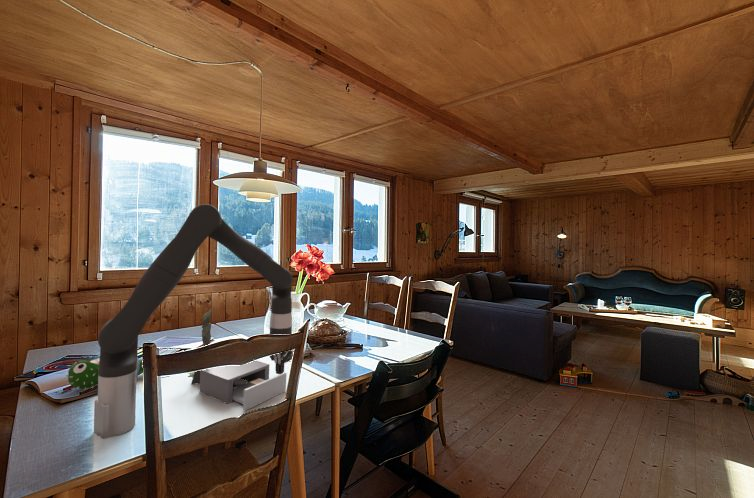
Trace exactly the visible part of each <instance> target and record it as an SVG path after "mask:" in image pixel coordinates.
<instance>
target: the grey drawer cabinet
mask: <svg viewBox="0 0 754 498" xmlns="http://www.w3.org/2000/svg"><path fill="white" fill-rule="evenodd" d="M259 378H260V379H263V380H268V379H270V364H268V363H267V362H262V361H259V360H256V361H253V362H251V363H248V364H245V365H240V366H225V367H217V368H211V369H206V370H201V371H200V384H199V393H201V394H203V395H205V396H207V397H210V398H212V399H215V400H217V401H220V402H222V403H224V402H225V403H224V404H226V403H228V404H231V403H233V400H232V392H233V388H234V387H233V386H234V382H235V381H238V380H243V381H246V382H250V381H252V380H256V379H259Z"/></svg>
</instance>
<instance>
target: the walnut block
mask: <svg viewBox="0 0 754 498" xmlns="http://www.w3.org/2000/svg"><path fill="white" fill-rule="evenodd" d="M263 381H266V380H263V379H260V378H259V379H256V380H254V381H251V382H250V386H249V387H251V386H254V385H256V384H258V383H261V382H263Z"/></svg>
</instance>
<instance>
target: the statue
mask: <svg viewBox="0 0 754 498" xmlns="http://www.w3.org/2000/svg"><path fill="white" fill-rule="evenodd" d="M213 310H214V308H213V307H211V308H210V309H209V311H207V312H205V313H204V314H203V315H202V316H201V319H202V321H201V324H202V326H201V328H202V330H201V339H202V340H201V341H202V345H203V347H204V346H205V345H208V344H211V339H212V334H211V329H212V322H210V320H211V318H212V312H213ZM190 384H191V385H200V371H197V372H195V371H194V373H193V376H192V379H191V383H190Z"/></svg>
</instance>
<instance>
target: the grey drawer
mask: <svg viewBox="0 0 754 498" xmlns="http://www.w3.org/2000/svg"><path fill="white" fill-rule="evenodd" d="M252 381H254V380H252ZM250 382H251V381H250ZM250 382H248V381H246V383H242V384H240V385H237V386H235V387H233V392H232V401H234V402H237V403H239V404H242V408H243V411H244V412H246V411H247V410H250V409H251V408H254V407H256V406H258V405H260V404H262V403H264V402H266V401H268V400H270V399H273V398H274V397H276V396H278V395H281V394H282V393H284V392H286V391H287V372H285V371H284V372H283V373H282V374H277V375H275V376H273V377H271V378H270V377H269V379H268V380H266V381H263V382H261V383H258V384H256V385H254V386H251V387H249V386H250Z"/></svg>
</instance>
